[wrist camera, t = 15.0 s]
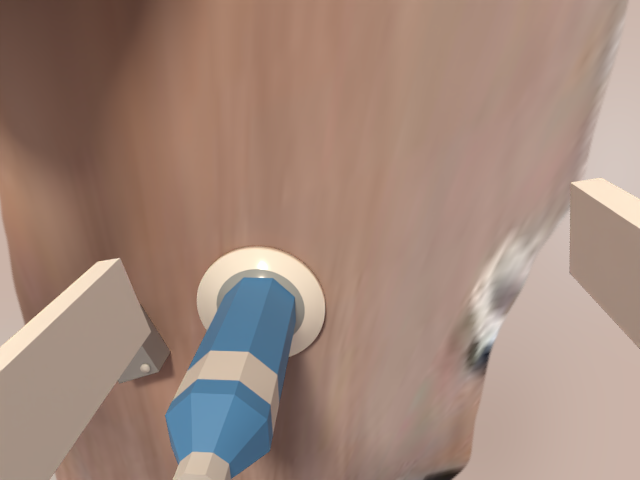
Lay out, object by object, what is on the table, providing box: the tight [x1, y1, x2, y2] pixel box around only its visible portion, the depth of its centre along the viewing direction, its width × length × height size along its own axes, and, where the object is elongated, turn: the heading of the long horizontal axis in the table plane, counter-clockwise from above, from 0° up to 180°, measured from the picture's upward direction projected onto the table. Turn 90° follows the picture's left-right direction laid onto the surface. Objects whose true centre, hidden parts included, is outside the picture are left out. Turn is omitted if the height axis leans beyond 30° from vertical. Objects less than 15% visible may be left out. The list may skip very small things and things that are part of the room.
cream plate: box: [197, 246, 325, 357], centre depth 57 cm, size 16×16×1 cm
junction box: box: [118, 304, 170, 383], centre depth 59 cm, size 8×6×4 cm
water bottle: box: [165, 277, 296, 480], centre depth 45 cm, size 9×9×25 cm
